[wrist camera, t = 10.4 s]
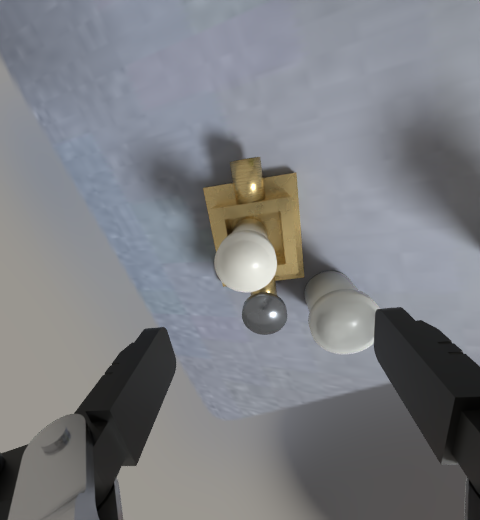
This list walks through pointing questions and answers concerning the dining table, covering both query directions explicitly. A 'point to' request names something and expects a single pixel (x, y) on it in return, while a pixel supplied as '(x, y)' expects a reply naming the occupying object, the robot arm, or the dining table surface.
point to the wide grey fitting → (339, 313)
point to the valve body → (277, 226)
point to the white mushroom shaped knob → (246, 257)
